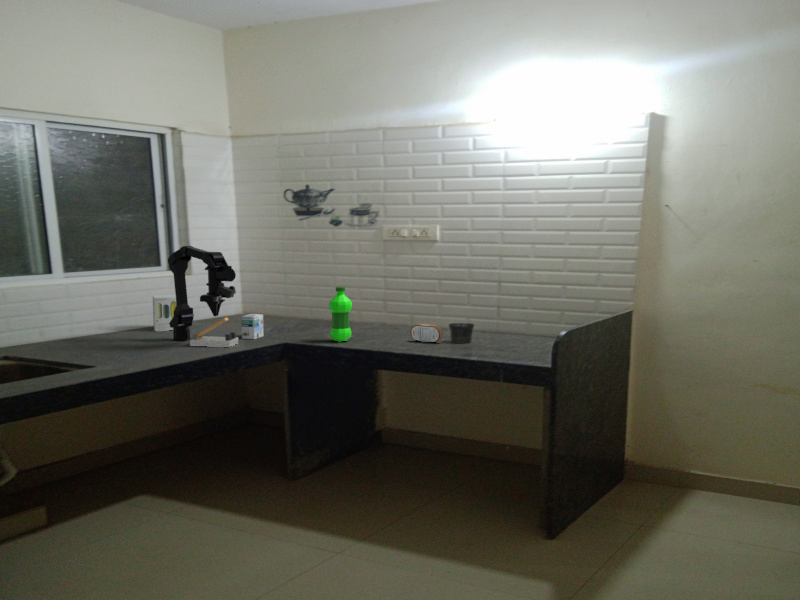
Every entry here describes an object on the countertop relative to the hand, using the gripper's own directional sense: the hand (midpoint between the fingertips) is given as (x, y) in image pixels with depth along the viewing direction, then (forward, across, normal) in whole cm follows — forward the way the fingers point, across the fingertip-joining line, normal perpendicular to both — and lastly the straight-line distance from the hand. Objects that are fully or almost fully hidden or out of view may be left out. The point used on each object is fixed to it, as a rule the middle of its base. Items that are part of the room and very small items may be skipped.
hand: (215, 316), depth 279 cm
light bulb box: (+13, +23, -8) cm, 28 cm away
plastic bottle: (+13, +18, -52) cm, 57 cm away
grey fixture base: (+13, 0, +1) cm, 13 cm away
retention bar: (+6, 0, +2) cm, 6 cm away
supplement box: (+13, +42, +45) cm, 63 cm away
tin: (+13, +21, -91) cm, 94 cm away
